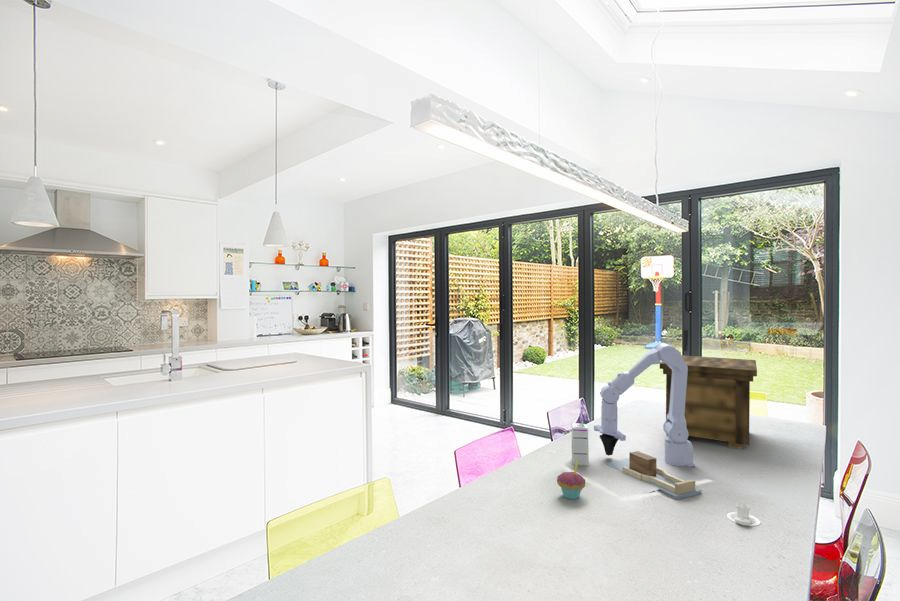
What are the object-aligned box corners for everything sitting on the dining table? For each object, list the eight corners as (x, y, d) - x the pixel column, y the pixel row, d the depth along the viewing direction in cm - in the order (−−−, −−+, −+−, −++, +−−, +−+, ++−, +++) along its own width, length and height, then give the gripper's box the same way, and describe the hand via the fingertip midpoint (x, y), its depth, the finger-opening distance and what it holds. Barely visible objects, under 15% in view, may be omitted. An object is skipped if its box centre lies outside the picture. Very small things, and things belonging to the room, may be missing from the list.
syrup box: (589, 468, 167) (589, 427, 167) (571, 467, 168) (572, 426, 168) (587, 462, 172) (587, 423, 172) (571, 461, 174) (571, 422, 173)
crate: (659, 438, 201) (659, 363, 201) (670, 420, 231) (670, 354, 230) (756, 453, 182) (757, 370, 182) (754, 431, 212) (755, 360, 212)
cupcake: (586, 492, 146) (586, 454, 146) (584, 504, 138) (584, 463, 138) (558, 488, 149) (558, 451, 149) (555, 499, 141) (555, 460, 141)
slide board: (626, 461, 174) (626, 450, 174) (701, 493, 146) (701, 480, 146) (603, 465, 170) (603, 454, 170) (676, 499, 141) (676, 486, 141)
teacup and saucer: (747, 531, 124) (747, 515, 123) (718, 518, 131) (718, 503, 131) (766, 523, 128) (766, 508, 127) (737, 511, 135) (737, 497, 135)
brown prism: (637, 467, 165) (638, 450, 164) (656, 475, 157) (656, 458, 157) (629, 469, 163) (629, 452, 163) (647, 477, 156) (647, 459, 156)
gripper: (587, 414, 180) (587, 450, 180) (615, 424, 166) (615, 462, 166) (602, 413, 182) (601, 447, 183) (630, 422, 169) (630, 459, 169)
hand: (609, 454), depth 175 cm, fingers closed
